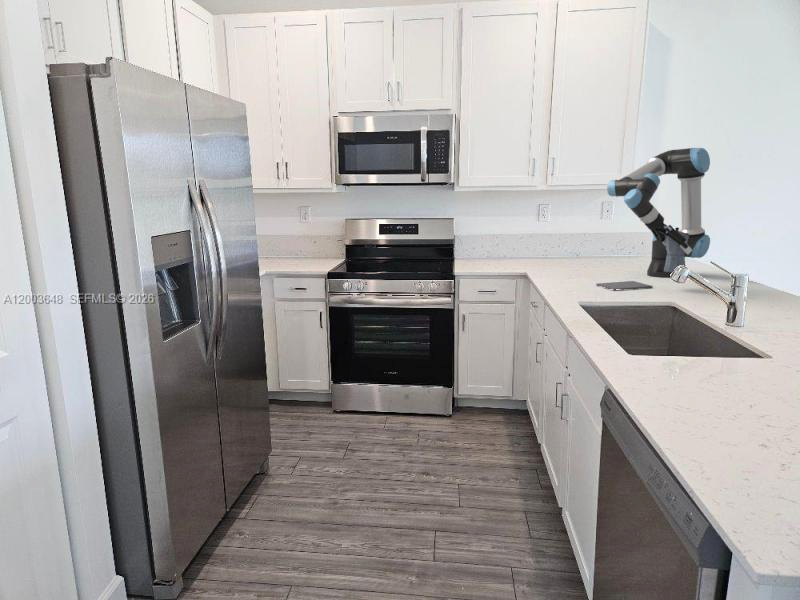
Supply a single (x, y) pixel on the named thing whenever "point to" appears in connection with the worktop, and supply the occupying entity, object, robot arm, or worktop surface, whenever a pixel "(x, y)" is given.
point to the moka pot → (674, 253)
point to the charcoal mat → (624, 285)
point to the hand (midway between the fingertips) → (681, 250)
